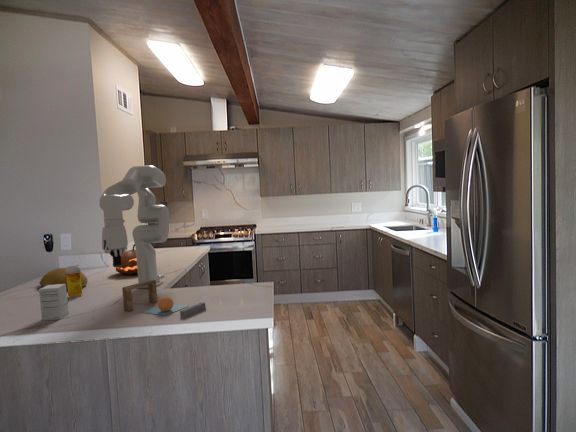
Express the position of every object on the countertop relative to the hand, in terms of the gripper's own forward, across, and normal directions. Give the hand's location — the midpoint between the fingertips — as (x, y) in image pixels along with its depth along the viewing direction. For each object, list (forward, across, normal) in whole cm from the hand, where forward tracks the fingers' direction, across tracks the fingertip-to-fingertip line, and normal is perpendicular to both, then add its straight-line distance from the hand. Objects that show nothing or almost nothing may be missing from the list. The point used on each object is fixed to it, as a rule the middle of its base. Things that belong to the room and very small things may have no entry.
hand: (117, 265), depth 178 cm
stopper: (+17, 0, +42) cm, 45 cm away
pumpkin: (+17, -53, -53) cm, 77 cm away
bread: (+18, -16, -64) cm, 68 cm away
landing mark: (+17, 0, +27) cm, 32 cm away
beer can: (+17, -2, -35) cm, 39 cm away
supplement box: (+17, +23, -10) cm, 30 cm away
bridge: (+17, 0, +13) cm, 21 cm away
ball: (+14, +2, +29) cm, 33 cm away
